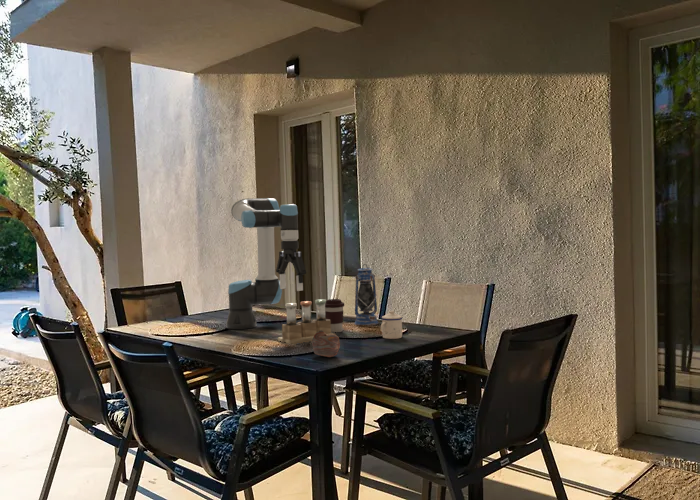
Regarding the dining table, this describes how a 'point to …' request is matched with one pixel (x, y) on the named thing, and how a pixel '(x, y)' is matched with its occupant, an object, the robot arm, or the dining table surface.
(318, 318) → the sage plunger
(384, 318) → the white enamel mug
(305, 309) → the terracotta plunger
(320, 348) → the stone
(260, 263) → the robot arm
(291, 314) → the cream plunger
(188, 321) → the dining table surface
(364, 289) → the lantern
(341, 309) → the coffee cup
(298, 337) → the beige boxy slotted piece
